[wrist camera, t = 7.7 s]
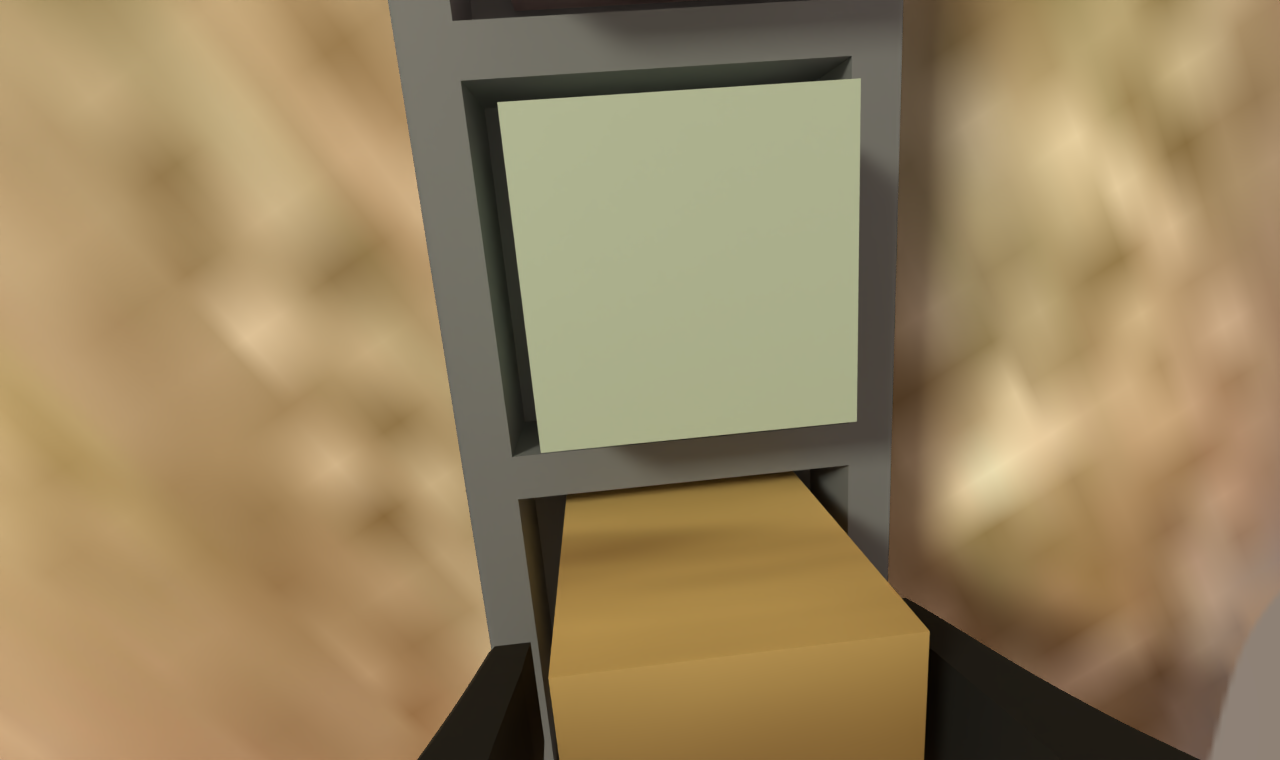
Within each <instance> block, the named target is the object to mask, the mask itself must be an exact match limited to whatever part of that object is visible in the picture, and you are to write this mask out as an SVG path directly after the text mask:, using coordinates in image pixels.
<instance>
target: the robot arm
mask: <svg viewBox="0 0 1280 760" xmlns="http://www.w3.org/2000/svg"><path fill="white" fill-rule="evenodd" d="M902 599H903V601H904V602H905V603H906V604H907V605H908V606H909V608H910V609H911V610H912V611H913V612H914V613H915V615H916V616H917V617H918V618H919V619H920V620H921V622H922V623H923V624H924V625H925V626H926V627H927V629H928V630H929V631H930V637H929V659H928V681H927V703H926V726H925V748H924V760H1199V759H1197V758H1195V757H1193V756H1191V755H1189V754H1187V753H1185V752H1182V751H1180V750H1178V749H1176V748H1174V747H1172V746H1170V745H1168V744H1166V743H1163V742H1161V741H1159V740H1157V739H1155V738H1153V737H1151V736H1149V735H1147V734H1144V733H1142V732H1140V731H1138V730H1136V729H1134V728H1132V727H1130V726H1128V725H1126V724H1124V723H1122V722H1120V721H1118V720H1116V719H1114V718H1112V717H1110V716H1108V715H1107V714H1105V713H1103V712H1101V711H1099V710H1097V709H1095V708H1094V707H1092V706H1090V705H1088V704H1086V703H1084V702H1082V701H1081V700H1079V699H1077V698H1075V697H1073V696H1071V695H1069V694H1068V693H1066V692H1064V691H1062V690H1060V689H1058V688H1057V687H1055V686H1053V685H1051V684H1050V683H1048V682H1046V681H1044V680H1043V679H1041V678H1039V677H1037V676H1035V675H1034V674H1032V673H1030V672H1029V671H1027V670H1025V669H1023V668H1022V667H1020V666H1018V665H1017V664H1015V663H1013V662H1012V661H1010V660H1008V659H1007V658H1005V657H1003V656H1002V655H1000V654H998V653H997V652H995V651H993V650H992V649H990V648H988V647H987V646H985V645H983V644H982V643H980V642H978V641H977V640H975V639H974V638H972V637H970V636H969V635H967V634H965V633H964V632H962V631H960V630H959V629H957V628H956V627H954V626H952V625H951V624H949V623H947V622H946V621H944V620H943V619H941V618H939V617H938V616H936V615H934V614H933V613H931V612H929V611H928V610H926V609H924V608H923V607H921V606H919V605H917V604H916V603H914V602H912V601H910V600H908V599H906V598H902ZM544 745H545V741H544V734H543V726H542V719H541V712H540V705H539V698H538V691H537V684H536V677H535V669H534V662H533V655H532V648H531V642H527V643H519V644H510V645H502V646H495V647H494V648H493V649H492V650H491V651H490V652H489V653H488V655H487V657H486V658H485V660H484V662H483V663H482V665H481V666H480V668H479V670H478V671H477V673H476V674H475V676H474V678H473V679H472V681H471V682H470V684H469V685H468V687H467V689H466V690H465V692H464V693H463V695H462V696H461V698H460V699H459V701H458V702H457V704H456V705H455V707H454V708H453V710H452V711H451V713H450V714H449V716H448V717H447V718H446V720H445V721H444V723H443V724H442V726H441V727H440V728H439V730H438V731H437V733H436V734H435V736H434V737H433V738H432V740H431V741H430V743H429V744H428V746H427V747H426V748H425V750H424V751H423V753H422V754H421V755H420V757H419V758H418V759H417V760H544Z"/></svg>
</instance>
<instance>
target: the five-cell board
mask: <svg viewBox="0 0 1280 760" xmlns="http://www.w3.org/2000/svg"><path fill="white" fill-rule="evenodd" d="M388 4H389V10H390V16H391V23H392V29H393V35H394V41H395V48H396V54H397V60H398V67H399V73H400V79H401V85H402V92H403V98H404V104H405V110H406V117H407V123H408V129H409V136H410V142H411V148H412V154H413V161H414V167H415V173H416V179H417V186H418V192H419V198H420V204H421V211H422V217H423V223H424V230H425V236H426V242H427V248H428V255H429V261H430V267H431V273H432V280H433V286H434V292H435V299H436V305H437V311H438V317H439V324H440V330H441V336H442V342H443V349H444V355H445V361H446V368H447V374H448V380H449V386H450V393H451V399H452V405H453V411H454V418H455V424H456V430H457V437H458V443H459V449H460V455H461V462H462V468H463V474H464V480H465V487H466V493H467V499H468V506H469V512H470V518H471V524H472V531H473V537H474V543H475V549H476V556H477V562H478V568H479V574H480V581H481V587H482V593H483V600H484V606H485V612H486V618H487V625H488V631H489V637H490V643H491V650H492V649H493V648H494V647H495V646H502V645H510V644H519V643H527V642H531V648H532V655H533V662H534V669H535V677H536V684H537V691H538V698H539V705H540V712H541V719H542V726H543V734H544V741H545V745H544V760H559V752H558V745H557V738H556V731H555V723H554V716H553V709H552V701H551V694H550V687H549V679H548V677H549V667H550V657H551V647H552V637H553V627H554V617H555V606H556V596H557V586H558V576H559V566H560V556H561V546H562V536H563V526H564V516H565V506H566V496H567V494H575V493H585V492H594V491H604V490H614V489H623V488H633V487H643V486H652V485H662V484H671V483H681V482H691V481H700V480H710V479H720V478H729V477H739V476H748V475H758V474H768V473H777V472H787V471H793V472H794V473H795V474H796V475H797V476H798V478H799V479H800V480H801V481H802V482H803V483H804V485H805V486H806V487H807V488H808V489H809V490H810V492H811V493H812V494H813V495H814V496H815V498H816V499H817V500H818V501H819V502H820V503H821V505H822V506H823V507H824V508H825V509H826V510H827V512H828V513H829V514H830V515H831V516H832V517H833V519H834V520H835V521H836V522H837V523H838V524H839V526H840V527H841V528H842V529H843V530H844V531H845V533H846V534H847V535H848V536H849V537H850V538H851V540H852V541H853V542H854V543H855V544H856V546H857V547H858V548H859V549H860V550H861V551H862V553H863V554H864V555H865V556H866V557H867V558H868V560H869V561H870V562H871V563H872V564H873V565H874V567H875V568H876V569H877V570H878V571H879V572H880V574H881V575H882V576H883V577H884V578H885V579H886V581H887V582H888V555H889V517H890V480H891V443H892V406H893V368H894V331H895V294H896V257H897V219H898V182H899V145H900V108H901V70H902V33H903V0H388Z"/></svg>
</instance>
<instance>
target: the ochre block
mask: <svg viewBox="0 0 1280 760" xmlns="http://www.w3.org/2000/svg"><path fill="white" fill-rule="evenodd" d="M929 637H930V631H929V630H928V629H927V627H926V626H925V625H924V624H923V623H922V622H921V620H920V619H919V618H918V617H917V616H916V615H915V613H914V612H913V611H912V610H911V609H910V608H909V606H908V605H907V604H906V603H905V602H904V601H903V599H902V598H901V597H900V596H899V595H898V594H897V592H896V591H895V590H894V589H893V588H892V586H891V585H890V584H889V583H888V582H887V581H886V579H885V578H884V577H883V576H882V575H881V574H880V572H879V571H878V570H877V569H876V568H875V567H874V565H873V564H872V563H871V562H870V561H869V560H868V558H867V557H866V556H865V555H864V554H863V553H862V551H861V550H860V549H859V548H858V547H857V546H856V544H855V543H854V542H853V541H852V540H851V538H850V537H849V536H848V535H847V534H846V533H845V531H844V530H843V529H842V528H841V527H840V526H839V524H838V523H837V522H836V521H835V520H834V519H833V517H832V516H831V515H830V514H829V513H828V512H827V510H826V509H825V508H824V507H823V506H822V505H821V503H820V502H819V501H818V500H817V499H816V498H815V496H814V495H813V494H812V493H811V492H810V490H809V489H808V488H807V487H806V486H805V485H804V483H803V482H802V481H801V480H800V479H799V478H798V476H797V475H796V474H795V473H794V472H793V471H787V472H777V473H768V474H758V475H748V476H739V477H729V478H720V479H710V480H700V481H691V482H681V483H671V484H662V485H652V486H643V487H633V488H623V489H614V490H604V491H594V492H585V493H575V494H567V496H566V506H565V516H564V526H563V536H562V546H561V556H560V566H559V576H558V586H557V596H556V606H555V617H554V627H553V637H552V647H551V657H550V667H549V677H548V679H549V687H550V694H551V701H552V709H553V716H554V723H555V731H556V738H557V745H558V752H559V760H924V748H925V726H926V703H927V681H928V659H929Z"/></svg>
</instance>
